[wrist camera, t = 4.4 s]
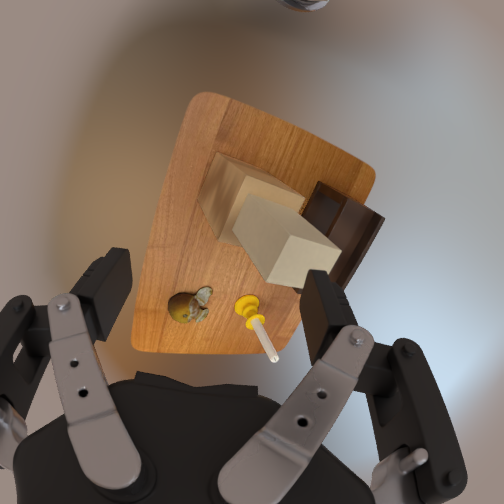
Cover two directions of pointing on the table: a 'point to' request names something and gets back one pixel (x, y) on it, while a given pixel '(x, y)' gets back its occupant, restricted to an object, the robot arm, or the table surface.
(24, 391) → the robot arm
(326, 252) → the snack box
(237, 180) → the block
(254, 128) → the table surface
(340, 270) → the shelf
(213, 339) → the table surface
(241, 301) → the candle
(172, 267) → the table surface
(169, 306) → the fruit
